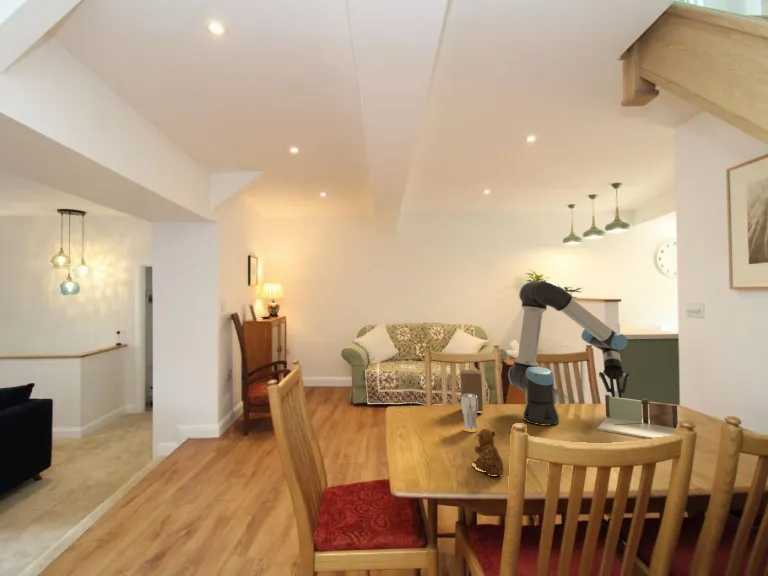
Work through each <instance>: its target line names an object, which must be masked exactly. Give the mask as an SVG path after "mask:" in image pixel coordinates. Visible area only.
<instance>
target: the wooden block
mask: <svg viewBox="0 0 768 576" xmlns="http://www.w3.org/2000/svg"><path fill="white" fill-rule="evenodd" d="M482 383H483V380H482V371H481V369H462V370H461V372H460V390H461V391H460V393H461V399H462V394H475V395H477V401H478V411H484V410H483V409H484V408H483V384H482Z"/></svg>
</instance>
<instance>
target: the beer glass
mask: <svg viewBox="0 0 768 576" xmlns="http://www.w3.org/2000/svg"><path fill="white" fill-rule="evenodd" d="M460 402H461V405H460V406H461V414H462V417H463V418H462V419H463V427H465V428H467V429H475V428H477V429H478V424H477V417H478V414H477V412H478V401H477V395H475V394H462V399H461V401H460Z"/></svg>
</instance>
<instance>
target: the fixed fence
mask: <svg viewBox="0 0 768 576" xmlns="http://www.w3.org/2000/svg"><path fill="white" fill-rule="evenodd" d="M641 405H642V419H643V423H645V424H649V421H650V424H653V425H659V426H666V427H672V428H676V427H677V425H678V424H679V423H678V422H679V421H678V405H676V404H671V403H664V402H655V401H649V399H647V398H642V399H641Z"/></svg>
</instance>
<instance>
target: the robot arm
mask: <svg viewBox="0 0 768 576" xmlns="http://www.w3.org/2000/svg"><path fill="white" fill-rule="evenodd" d="M519 300H520V301H521V309H522V310H523V318H522V325H521V326H522V327H521V331H520V332H521V334H520V341H519V347H518V355H517V358H515V359H514V360H513V365H512V366H511V367H510V368H509V369H508V373H507V376H508V381H509V383H510V384H511V385H512V386H513V387H514V388H516V389H518V390H521V391H523V392H525V393H526V404H525V408H524V411H523V419H524V418H525V419H526V420H528V421H530V422H533V423H538V424H555V423H558V422H559V423H560V417H559V413H558V410H557V408H556V405H555V387H554V386H555V385H554V382H555V379H554V378H555V377H554V373H553V372H552V371H551V369H549V368H547V367H541V366H540V364H539V363H538V362H537V358H538V357H537V356H538V350H539V343H540V342H539V341H540V334H541V327H542V321H543V313H544V312H546V311H547V306H548V307H551V308H553V309H554V310H556V311H557V312H562V313H563V314H564V315H565V316H567V317H568V318H569V319H571V320H572V321H574V322H575V323H576V324H577V325H579V326H580V327H581V328H583V329H584V330H582V333H581V339H582V340H583V341H584V342H586V343H587V344H589V345H591V346H593V347H594V348H596V349H598V350H600V351H602V352H601V353H602V359H603V371H602V372H601V371H600V372H599V373H598V377H599V378H600V379H601V381H602V383H603V386H604V389H605V391H606V393H610V394H611V397H617V398H623V397H622V394H625V392H626V387H627V382H628V380H630V379H629V378H630V374H629V373H625V372H624V370H623V367H622V360H621V354H620V350H623V349H625V348H626V347H627V346H628V338H627V337H626V335H625V334H622V333H620V332H619V333H618V332H616V331H614V330H613V329H612V328H610V327H609V326H608V325H607V324H605V323H604V322H602V321H601V320H600V319H599V318H597V317H596V316H595V315H594V314H593V313H591V312H590V311H589V310H587V309H586V308H585V307H584V306H583V305H581V304H580V303H578V301H576V300H575V299H573V295H572V294H571V293H570V292H569V291H567V290H565V289H564V288H563V287H562V286H560V285H559V284H556V283H555V282H553V281H550V280H541V281H540V280H537V281H529V282H526V283H524V284H523V285H522V286H521V287H520V289H519ZM606 377H607V378H608V379H609V383H608V381H607V378H606ZM622 377H623V382H622V387H621V381H620V379H621V378H622ZM614 380H615V383H616V384H614ZM615 385H616V390H615ZM559 423H558V424H559ZM555 425H556V424H555Z"/></svg>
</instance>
